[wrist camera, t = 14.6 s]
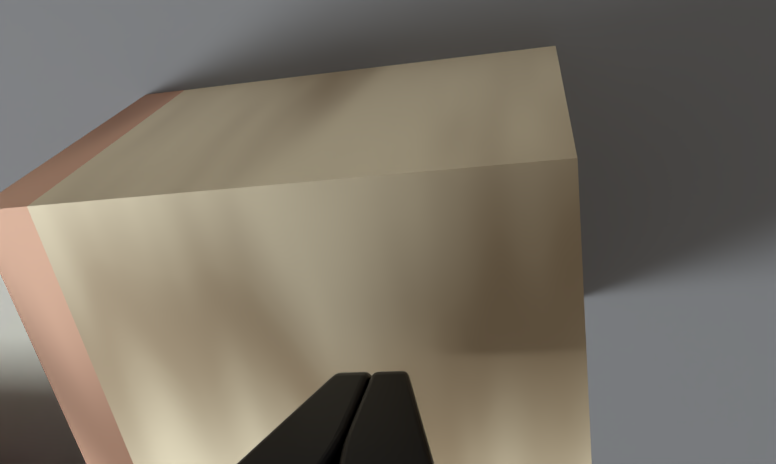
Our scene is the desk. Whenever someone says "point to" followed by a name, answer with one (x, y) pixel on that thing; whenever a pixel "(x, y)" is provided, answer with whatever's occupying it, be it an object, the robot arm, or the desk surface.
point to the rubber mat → (593, 147)
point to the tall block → (313, 261)
